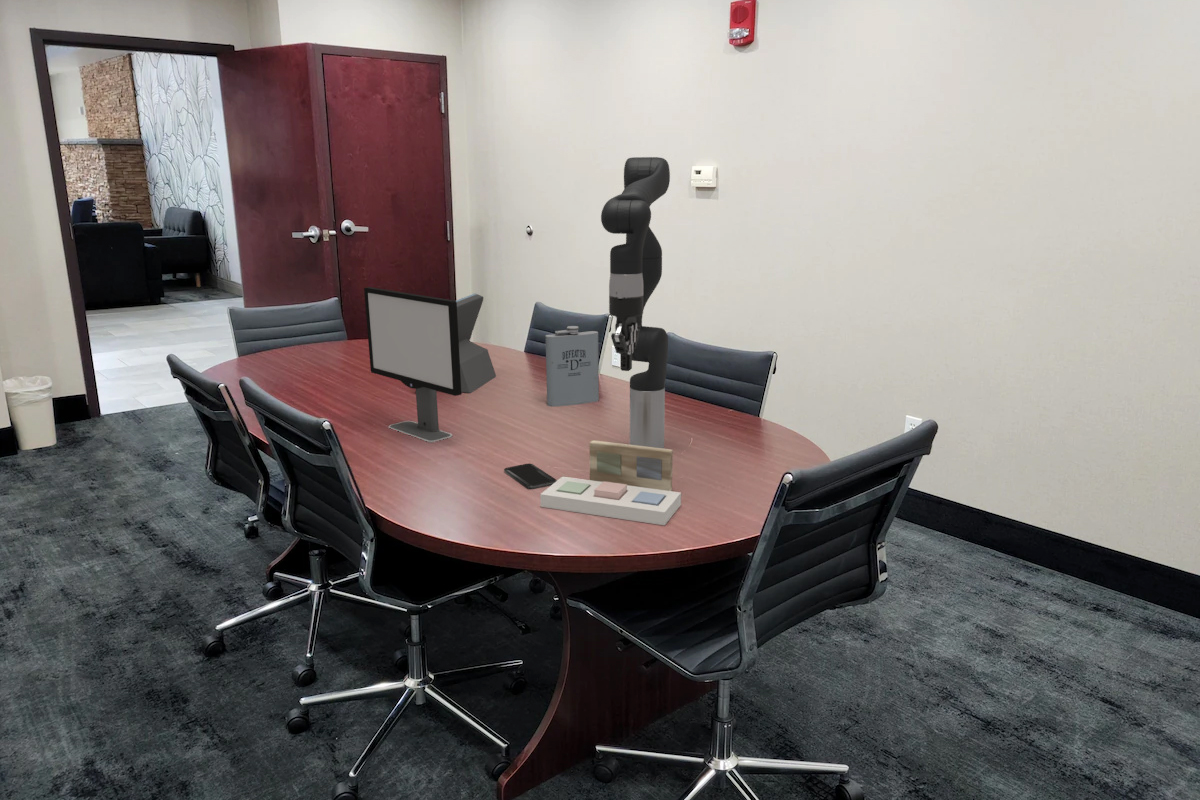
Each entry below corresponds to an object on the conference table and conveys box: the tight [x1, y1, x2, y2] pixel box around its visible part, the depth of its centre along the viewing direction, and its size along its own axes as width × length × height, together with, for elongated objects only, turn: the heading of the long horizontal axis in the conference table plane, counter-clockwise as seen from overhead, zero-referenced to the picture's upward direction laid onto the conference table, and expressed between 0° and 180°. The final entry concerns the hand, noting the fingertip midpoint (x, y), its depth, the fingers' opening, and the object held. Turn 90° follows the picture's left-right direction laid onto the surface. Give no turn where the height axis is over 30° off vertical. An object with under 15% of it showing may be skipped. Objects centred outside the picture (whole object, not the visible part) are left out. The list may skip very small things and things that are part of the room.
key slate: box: [633, 491, 665, 506], centre depth 186 cm, size 6×6×3 cm
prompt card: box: [588, 440, 674, 491], centre depth 200 cm, size 2×20×10 cm, turn 68°
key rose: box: [594, 481, 627, 500], centre depth 189 cm, size 6×6×3 cm
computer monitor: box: [363, 286, 462, 443], centre depth 238 cm, size 41×8×40 cm, turn 47°
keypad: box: [539, 476, 682, 526], centre depth 189 cm, size 12×29×3 cm, turn 68°
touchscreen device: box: [455, 292, 497, 394], centre depth 295 cm, size 35×20×30 cm, turn 166°
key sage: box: [557, 481, 590, 495], centre depth 192 cm, size 6×6×3 cm
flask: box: [545, 325, 600, 407], centre depth 269 cm, size 17×5×25 cm, turn 112°
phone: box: [503, 463, 558, 490], centre depth 207 cm, size 8×1×15 cm
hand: (626, 370), depth 191 cm, fingers closed
